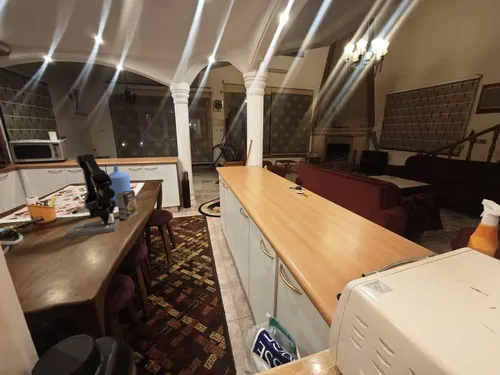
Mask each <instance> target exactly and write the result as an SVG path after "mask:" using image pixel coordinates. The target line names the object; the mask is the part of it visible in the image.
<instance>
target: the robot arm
mask: <svg viewBox="0 0 500 375" xmlns="http://www.w3.org/2000/svg"><path fill="white" fill-rule="evenodd" d="M75 162H76V164H77V166H78V167H79V168H80V169H81V170H82V176H83V179H84V180H83V181H84V184H85V189H86V190H85V191H86V193H85V196H84V201H83V202H84V203H83V206H84V208H85V209H87V211H88V213H89V215H88V217H87V218H89V219H91V218H97V217H98V218H100V219H101V221H103V222H104V224H105V225H107V224H108V220H109V216H110V214H112V213H113V214H114V210H115V207H116V205H115V204H116V202H115V200H110V199H112V198H113V197H114V196H115V192H114V190H113V189H111V188H110V187H109V186H110V185H112V181H111V179H110V177H109V176H108V175H109V174H108V173H107V172H106V171H105V170H103V169H101V168H100V165H99V164H98V163H97V161H96V158H95V156H94V153H86V154H85V153H83V154H77V155H76V156H75ZM107 181H108V183H107ZM112 204H113V205H112Z"/></svg>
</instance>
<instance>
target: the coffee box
mask: <svg viewBox="0 0 500 375" xmlns="http://www.w3.org/2000/svg"><path fill="white" fill-rule="evenodd" d="M116 198H117V204H118V205H117V211H118V216H119V220H120V219H121V220H129V219H131V218H133V217H134V216H135V217H136V216H137V215H138V207H137V206H138V205H137V199H136V193H135V190H131V191H124V192H121V193H119V194H116Z"/></svg>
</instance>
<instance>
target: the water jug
mask: <svg viewBox="0 0 500 375" xmlns="http://www.w3.org/2000/svg"><path fill="white" fill-rule="evenodd" d="M108 176H109V177H110V179H111V181H112V185H110V186H109V187H110V188H111V189H113V190H114V192H115V196H114V197H113V198H112V199H110V200H115V202H116V204H115V206H118V204H117V198H116V194H119V193H121V192H124V191H132V189H131V181H130V180H131V178H130V174H128V173H126V172H122V171H120V170H119V165H113V172H111V173H109V174H108ZM107 183H108V181H107ZM112 205H113V204H112Z"/></svg>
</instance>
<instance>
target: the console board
mask: <svg viewBox="0 0 500 375" xmlns="http://www.w3.org/2000/svg"><path fill="white" fill-rule="evenodd" d="M119 225H120V218H114V221H113V223H110V224H107V225H105V224H102V220H98V221H89V222H81V223H75V224H74V225H73V226H72V227H71V229H69V230H68V232H67V233H66V234H65V235H66V238H73V237H81V236H89V235H94V234H104V233H110V232H115V231H116V230H117V228H118V226H119Z"/></svg>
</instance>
